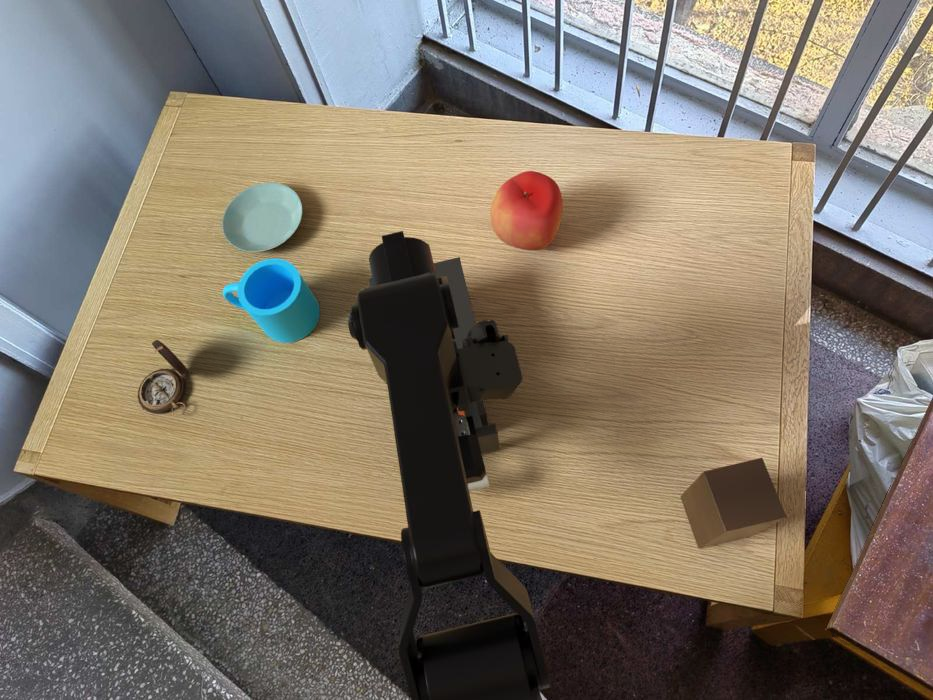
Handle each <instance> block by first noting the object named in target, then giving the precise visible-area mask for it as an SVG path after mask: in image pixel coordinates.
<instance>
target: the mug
mask: <svg viewBox="0 0 933 700" xmlns="http://www.w3.org/2000/svg"><path fill="white" fill-rule="evenodd" d="M233 292H237V295H235V294H233ZM222 296H223V298H224V300H225V301H227V302H228V303H229V304H231V305H233V306H235V307H237V308H239V309H242V310H244V311H246V313H247V314H248V315H249V316H250V317H251V318H252V319H253V321H254V322H255V323H256V324H257V325H258V326H259V328H260V329H261V330H262V331H263V332H264V333H265V335H266V336H267V337H269V339H272V340H273V341H275V342H279V343H283V344H286V343H290V344H291V343H294V342H295V343H296V342H297V341H301V340H303V339H304V338H306V337H307V336H309V335H310V334H311V333H312V332H313V330H315V328H316V327H317V324H318V322H319V321H320V313H321V308H320V304H319V302H318V300H317V299H316V297H315V294H313V292H312V291H311V289H310V288H309V286H308V284H307V282H306V281H305V280H304V278H303V277H302V275H301V273H300V272H299V271H298V268H297V267H296V266H295V265H294V264H293V263H291V262H290V261H288V260H285V259H281V258H267V259H264V260H261V261H258V262H255V264H253V265H251V266H249V268H248V269H246V271H245V272H244V273H243V274H242V276H241V278H240V280H239V282H238V281H237V282H232V283H229V284H227V285H225V286H224V287H223V290H222Z"/></svg>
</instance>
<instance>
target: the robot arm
mask: <svg viewBox="0 0 933 700" xmlns="http://www.w3.org/2000/svg"><path fill="white" fill-rule="evenodd" d="M381 240H382V241H381V242H382V243H380V244H378V245H377V246H375V247H374V248H373V249H372V250H371V251H370V254H369V257H368V263H369V269H370V273H371V278H372V279H373V285H374V286H371V287H369V286H367V287H363V289H359V290H358V292H357V294H356V299H355V301H354V302H353V303H352V305H351V306H350V310H349V315H348V319H347V320H348V321H347V326H348V331H349V335H350V336H351V338H353V339H354V340H356V342H357V343H358V346H359V348H360V349H361V350H362V351H365V350H366V351H367V352H368V355H369V357H370V360H371V362H372V364H373V366H374V368H375V371H376V373H377V375H378V377H379V378H380V379H381V380H382V381H383V382H384V383H385V384H386V387H387V391H388V398H389V407H390V413H391V418H392V427H393V432H394V440H395V447H396V454H397V460H398V467H399V474H400V479H401V480H400V481H401V486H402V495H403V501H404V508H405V509H404V510H405V514H406V522H407V526H406V527H403V528H401V530H400V540H401V542H400V543H401V549H402V555H403V561H404V566H405V569H406V575H407V577H408V582H409V585H410V589H409V592H408V594H407V598H406V601H405V604H404V608H403V611H402V614H401V622H400V631H399V641H398V655H399V659H400V662H401V667H402V670H403V674H404V677H405V678H404V679H405V681H406V685H407V688H408V692H409V697H410V700H543V699H542V695H541V690H544V689H549V688H551V685H550V684H551V683H550V681H549V677H548V676H549V675H548V671H547V667H546V662H545V659H544V655H543V654H544V653H543V649H542V646H541V641H540V637H539V633H538V629H537V625H536V620H535V616H534V612H533V609H532V605H531V600H530V597H529V593H528V590H527V588H526V586H525V585H524V584H523V583H522V582H521V581H520V580H519V579H518V578H517V577H516V576H515V575H514V573H512V572H511V571H510V570H509V569H508V568H507V567H506V566H505V565H504V564H503V563H502V562H501V561H500V560H499V559H498V558H497V557H496V556H495V555H494V554H493V553H492V551H491V548H490V544H489V540H488V535H487V531H486V528H485V523H484V520H483V516H482V513H481V510H475V511H474V507H473V503H472V499H471V498H472V497H471V492H469V488H468V484H469V483H473V482H478V481H482V480H483V478H484V477H485V475H487V470H486V465H485V461H484V456H483V454H482V452H481V448H480V443H479V439H478V436H477V434H476V430H475V425H474V421H473V417H472V416H469V417H465V416H463V415H459V414H458V411H459V412H461V411H465V410H469V409H472V407H471V403H473V402H477V401H483V402H486V401H492V400H493V401H494V400H508V399H510V398H511V397H512V396H513V395H514V393H515V392H516V391H517V390H518V388H519V387H520V385H521V384H522V382H523V378H524V377H523V373H522V369H521V365H520V362H519V358H518V355H517V351H516V348H515V346H514V345H513V343H511V342H510V339H509V335H508V334H501V333H500V330H499V327H498V324H497V322H496V320H494V319H487V320H481V321H480V322H478V323H476V326H474V327H473V328H471V330H470V331H469V333H468V335H467V336H468V338H465V339H463V340H462V344H463V348H461V349H458V348H457V344H456V341H453V339H455V336H454V332H453V329H454V328H458V327H459V325H458V321H457V316H456V312H455V308H454V304H453V299H452V295H451V291H450V287H449V282H448V278H447V276H444V277H440V278H438V277H437V275H436V272H435V267H434V263H435V262H434V259H433V255H432V250H431V246H430V244H429V243H427V242H426V241H424V240H423V239H420V238H416V237H411V236H405V233H404V231H403V230H400V231H397V232H393V233H392V232H391V233H388V234H383V235H381ZM457 407H458V410H457ZM483 575H484V577H485V580H486V582H487V583H488V586H489V587H490V588H491V589H492V590H494V592H495V593H496V594H498V596H499V597H500V598H501V599H502V600H503V601H505V602H506V604H508V606H510V608H512V610H514V612H515V613H511V614H507V615H503V616H498V617H495V618H490V619H485V620H482V621H478V622H473V623H470V624H465V625H461V626H457V627H456V626H455V627H452V628H448V629H443V630H440V631H435V632H430V633H427V634H422V635H419V636H418V637H417V639H416V637H415V633H414V629H415V625H416V621H417V618H418V615H419V612H420V609H421V605H422V603H423V589H425V590H427V589H431V588H436V587H440V586H445V585H447V584H452V583H456V582H461V581H465V580H469V579H473V578H478V577H482V576H483ZM524 621H525V623H526V627H527V629H526V627H525V623H524Z"/></svg>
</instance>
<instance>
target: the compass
mask: <svg viewBox="0 0 933 700" xmlns="http://www.w3.org/2000/svg"><path fill="white" fill-rule="evenodd" d="M151 345H152V346H153V348H154V349H155V350H154V353H156V352H158V353H159V354H160V355H161V357H162V358H164V360H166V362H167V363H168V364H169V365H170V366H171V367H172V368H173V369H171V368H160V369H156V370H154V371H152V372H151V373H149V374H148V375H147V376H145V378H143V380H142V381H141V382H140V384H139V387H138V390H137V401H138V404H139V405H140V407H141V409H142V410H145V411H147V412H148V413H151V414H153V415H154V414H156V415H161V414H165V413H167V412H170V411H171V413H172V415H173V416H174V417H180V416H182V415H183V414H184V413H185V412H186V409H187V408H186V404H185V403H184V402H183V401H182V400H183V398H184V395H185V392H186V383H185V380H187V379H188V378H190V377H191V372H190V371H189V370H188V368H187V367H186V365H185V364H184V363H183V362H182V361H181V359H180V358H179V357H177V355H175V353H174V352H173V351H172V350H171V349H170V348H169V347H168V346H167V345H165V344H164V343H163V342H161V341H160V340H159V339H155V340H154V341H152V342H151ZM179 404H181V405H183V408H184V409H183V411H182V412H181V413H179V414H176V413H174V409H175V410H176V409H178V408H179Z"/></svg>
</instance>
